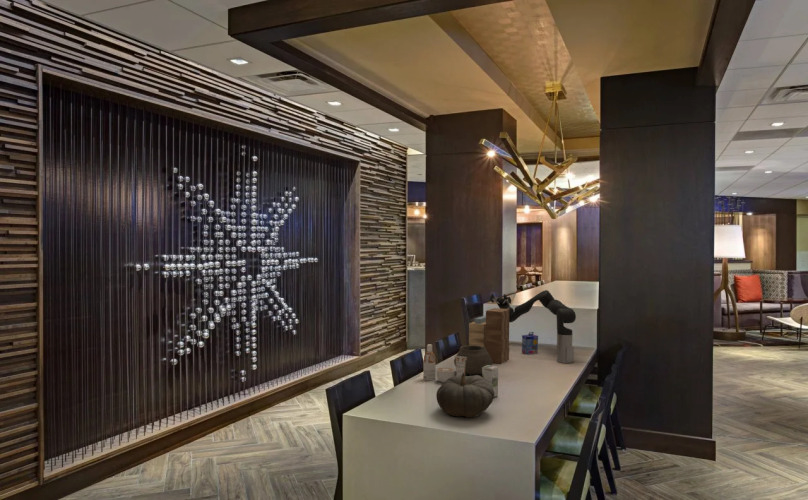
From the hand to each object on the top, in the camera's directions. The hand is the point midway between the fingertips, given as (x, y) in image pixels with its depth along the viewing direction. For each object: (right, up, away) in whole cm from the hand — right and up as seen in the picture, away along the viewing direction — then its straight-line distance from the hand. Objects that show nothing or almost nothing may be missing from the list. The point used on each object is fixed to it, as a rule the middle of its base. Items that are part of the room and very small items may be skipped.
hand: (498, 295), depth 373 cm
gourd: (-38, -40, -139) cm, 149 cm away
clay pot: (-26, -39, -67) cm, 82 cm away
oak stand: (-14, -38, -18) cm, 45 cm away
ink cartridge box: (+20, -39, -9) cm, 44 cm away
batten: (-11, -16, -13) cm, 24 cm away
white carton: (-24, -39, -113) cm, 122 cm away
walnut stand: (-6, -38, -33) cm, 51 cm away
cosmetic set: (-43, -39, -85) cm, 103 cm away
